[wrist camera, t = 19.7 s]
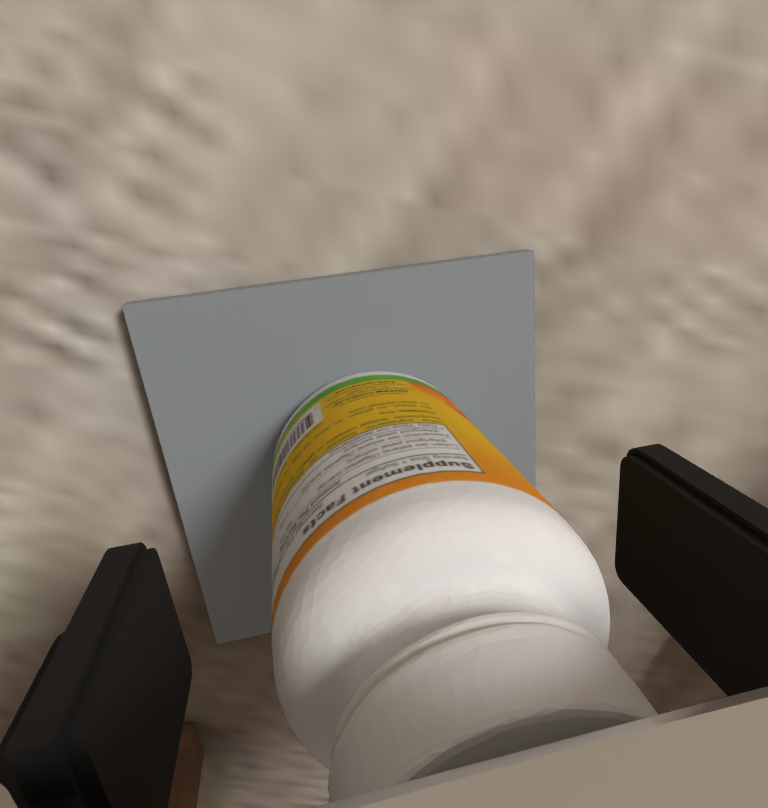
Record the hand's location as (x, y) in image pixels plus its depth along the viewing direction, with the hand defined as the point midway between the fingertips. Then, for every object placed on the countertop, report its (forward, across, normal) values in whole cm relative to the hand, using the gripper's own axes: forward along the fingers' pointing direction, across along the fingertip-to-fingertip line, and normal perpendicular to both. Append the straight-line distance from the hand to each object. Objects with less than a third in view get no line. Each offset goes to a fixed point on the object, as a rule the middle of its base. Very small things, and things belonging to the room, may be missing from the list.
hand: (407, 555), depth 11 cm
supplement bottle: (+5, 0, 0) cm, 5 cm away
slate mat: (+5, 0, 0) cm, 5 cm away
